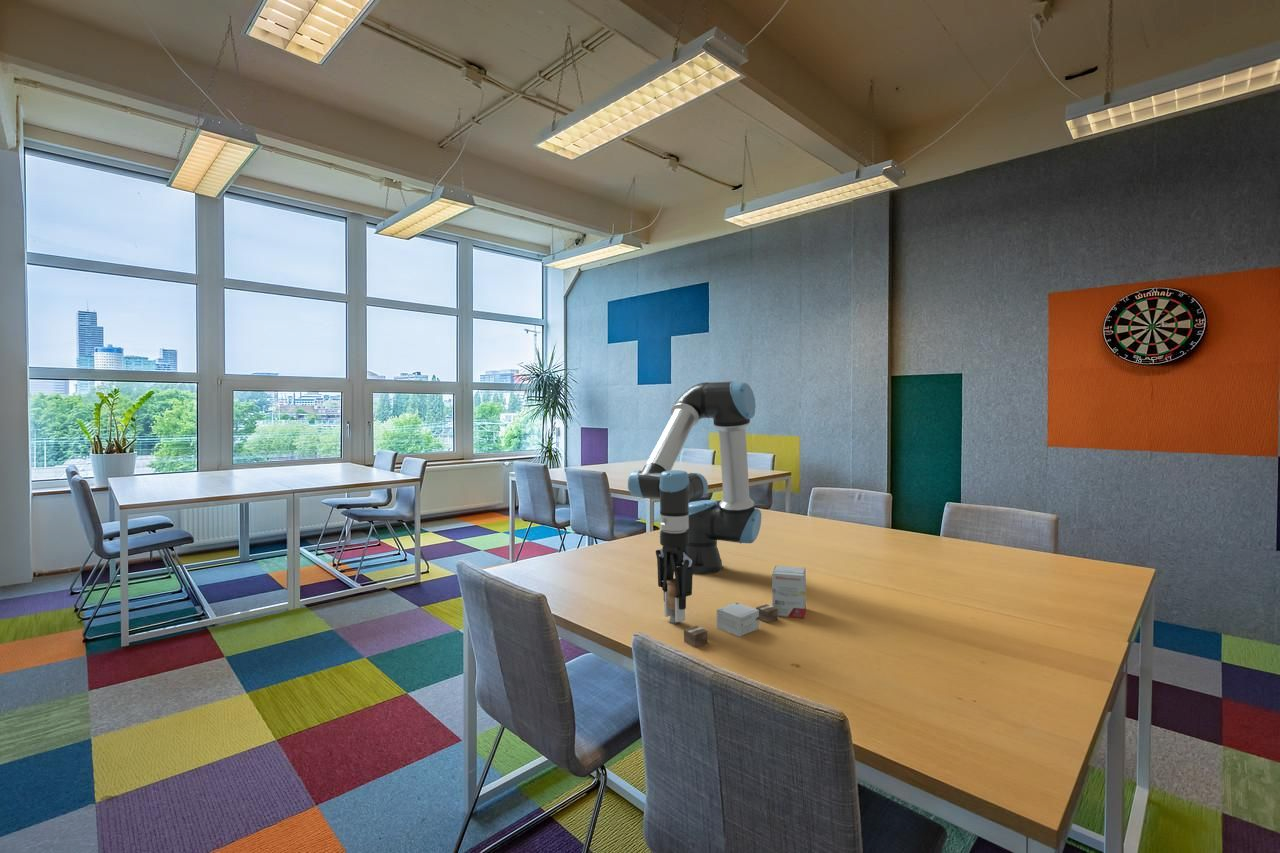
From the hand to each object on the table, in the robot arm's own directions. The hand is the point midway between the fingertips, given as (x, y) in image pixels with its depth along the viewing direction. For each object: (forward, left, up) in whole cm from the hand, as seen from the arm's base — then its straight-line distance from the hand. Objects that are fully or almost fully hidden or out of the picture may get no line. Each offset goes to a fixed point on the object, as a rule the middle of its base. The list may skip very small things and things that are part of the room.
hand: (674, 617), depth 153 cm
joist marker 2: (-21, +13, -1) cm, 25 cm away
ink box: (-30, +13, -1) cm, 33 cm away
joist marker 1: (+4, +13, -1) cm, 14 cm away
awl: (0, 0, -1) cm, 1 cm away
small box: (-10, +13, -2) cm, 17 cm away
